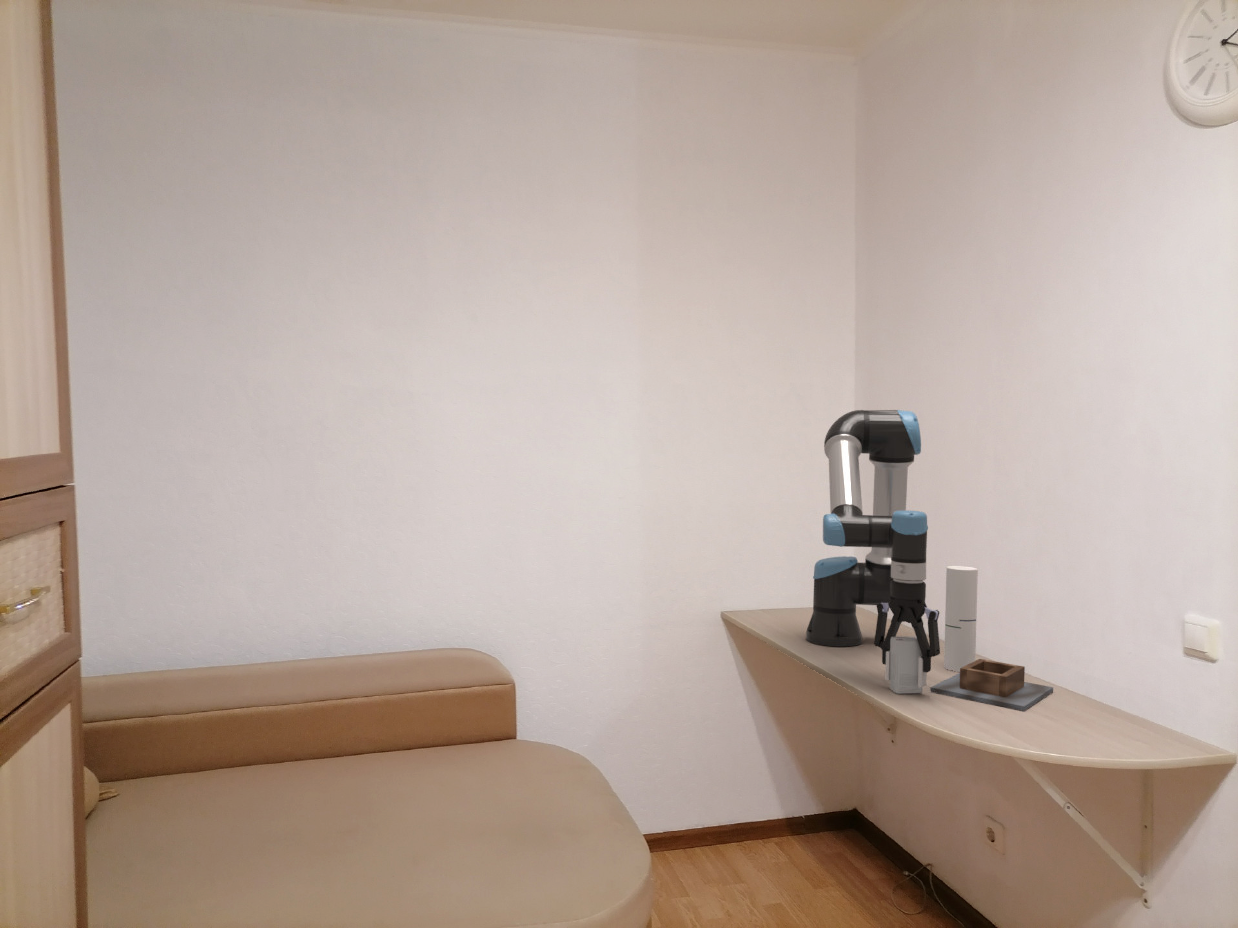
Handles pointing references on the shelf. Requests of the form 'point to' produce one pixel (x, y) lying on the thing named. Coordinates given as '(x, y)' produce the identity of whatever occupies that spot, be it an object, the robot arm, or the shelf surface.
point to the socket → (993, 685)
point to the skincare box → (904, 665)
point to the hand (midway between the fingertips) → (905, 682)
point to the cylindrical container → (960, 617)
